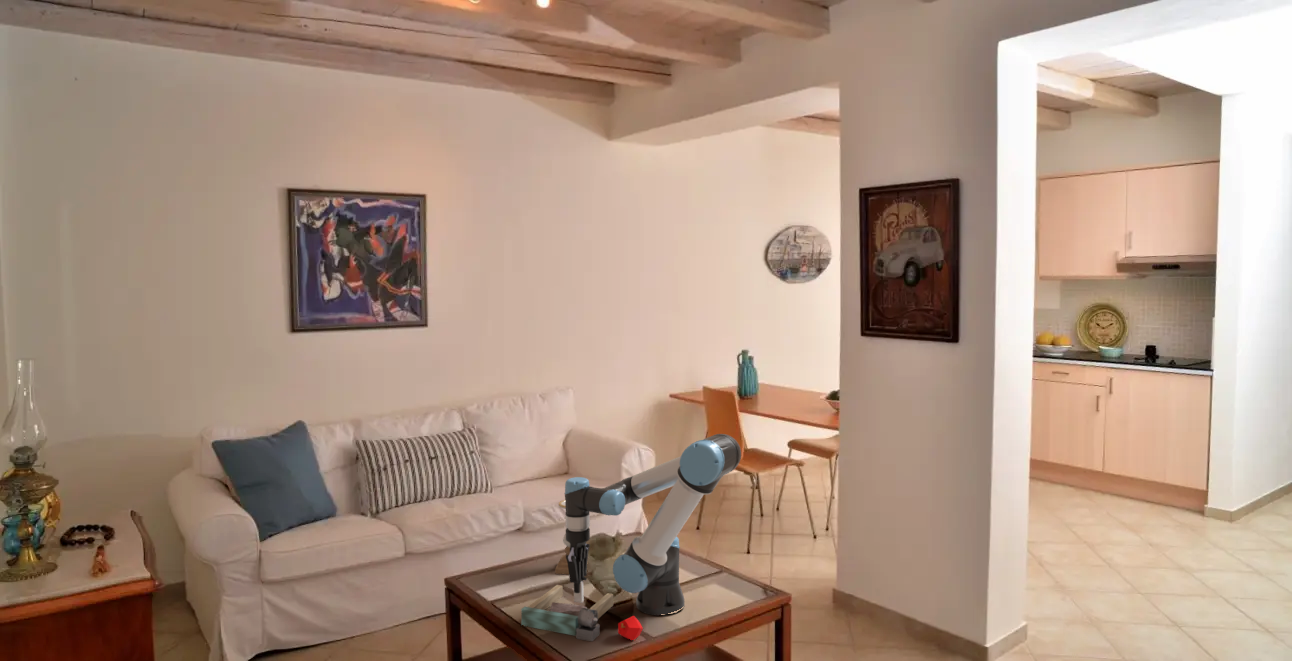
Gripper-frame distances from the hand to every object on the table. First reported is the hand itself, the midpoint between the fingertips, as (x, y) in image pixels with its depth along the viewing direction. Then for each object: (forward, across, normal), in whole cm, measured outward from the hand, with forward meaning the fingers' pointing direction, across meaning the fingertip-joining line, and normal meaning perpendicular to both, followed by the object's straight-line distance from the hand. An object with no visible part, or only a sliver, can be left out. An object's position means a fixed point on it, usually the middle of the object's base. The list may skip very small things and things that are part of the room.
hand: (578, 601), depth 260 cm
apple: (+2, +15, +23) cm, 27 cm away
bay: (+2, +7, -1) cm, 7 cm away
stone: (+2, +10, 0) cm, 10 cm away
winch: (+2, +18, +11) cm, 22 cm away
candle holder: (+2, -29, -15) cm, 33 cm away
